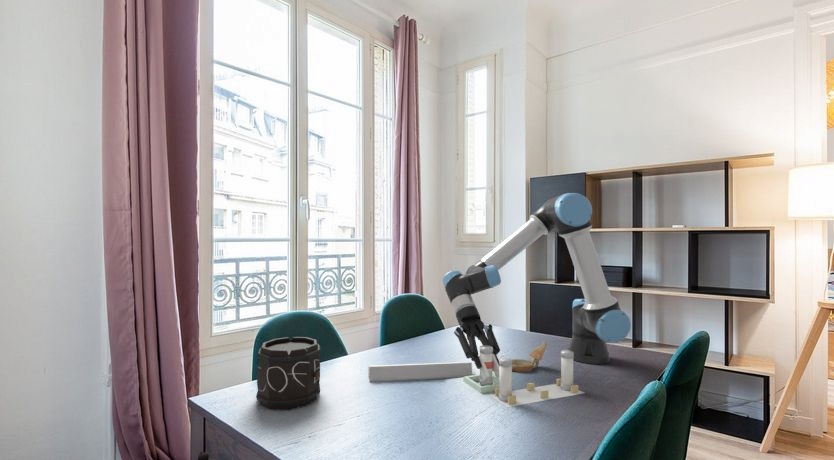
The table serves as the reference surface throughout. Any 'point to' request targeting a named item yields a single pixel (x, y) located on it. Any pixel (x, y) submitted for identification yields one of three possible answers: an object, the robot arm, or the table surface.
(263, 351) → the coffee canister
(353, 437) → the table surface
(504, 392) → the cylinder
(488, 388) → the tray
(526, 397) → the fuse block
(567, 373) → the fuse
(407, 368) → the decorative molding
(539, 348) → the oil lamp
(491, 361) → the marked fuse
